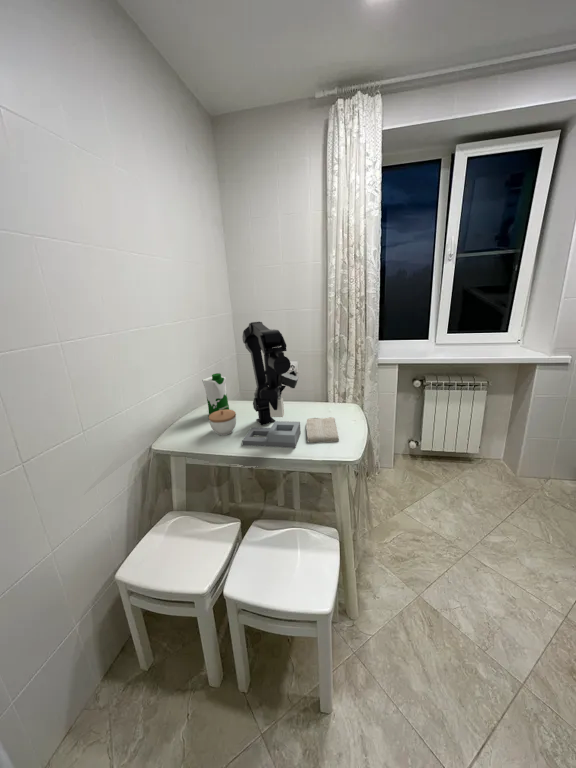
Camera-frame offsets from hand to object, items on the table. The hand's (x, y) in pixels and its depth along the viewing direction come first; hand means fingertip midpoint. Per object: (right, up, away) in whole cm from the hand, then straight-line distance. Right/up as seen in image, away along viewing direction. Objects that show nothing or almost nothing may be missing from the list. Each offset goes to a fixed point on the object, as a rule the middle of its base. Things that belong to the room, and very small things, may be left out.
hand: (276, 408), depth 107 cm
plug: (0, -3, +1) cm, 3 cm away
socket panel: (-2, -12, +4) cm, 13 cm away
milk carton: (-28, -6, +31) cm, 42 cm away
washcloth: (+17, -10, +8) cm, 22 cm away
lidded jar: (-22, -11, +14) cm, 28 cm away
